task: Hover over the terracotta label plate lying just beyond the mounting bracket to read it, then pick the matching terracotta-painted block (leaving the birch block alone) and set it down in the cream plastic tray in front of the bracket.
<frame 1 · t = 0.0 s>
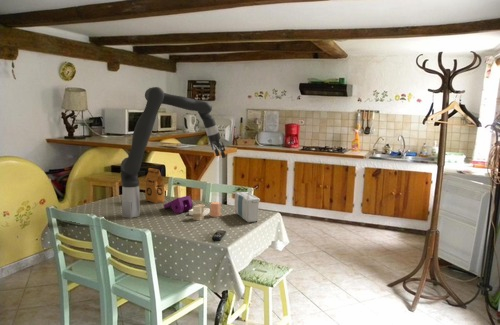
hand: (221, 156, 247), 31 cm above the table, tool tilted 20°, fingers open, 8 cm apart
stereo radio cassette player: (246, 218, 223), on the table
label plate: (200, 206, 247), on the table
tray: (199, 213, 229), on the table
mounting bracket: (176, 210, 237), on the table
coffee package: (155, 201, 258), on the table
terracotta block: (215, 215, 226), on the table
birch block: (198, 219, 219), on the table
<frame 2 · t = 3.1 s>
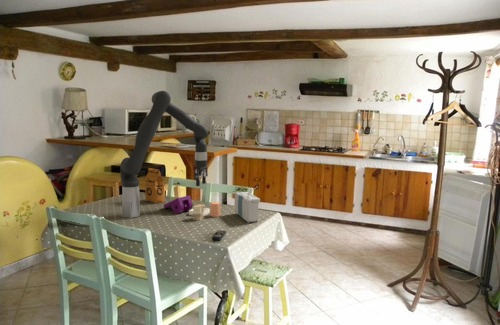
hand: (201, 184, 244), 14 cm above the table, tool pointing down, fingers open, 8 cm apart
nothing on the table moved.
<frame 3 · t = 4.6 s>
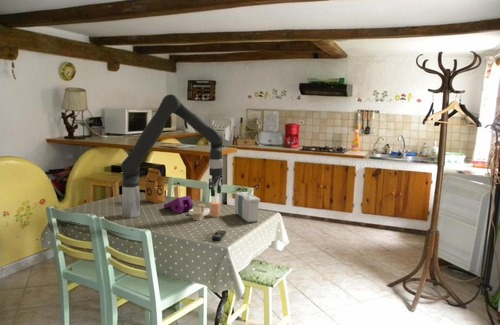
hand: (216, 194, 225), 12 cm above the table, tool pointing down, fingers open, 8 cm apart
nothing on the table moved.
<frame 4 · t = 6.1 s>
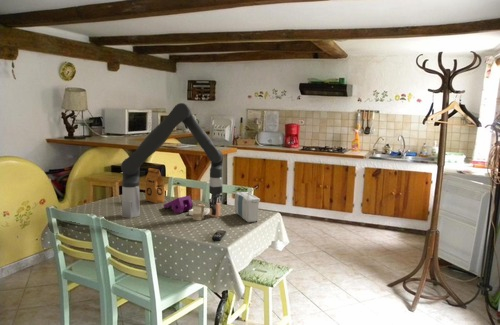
hand: (215, 213, 226), 1 cm above the table, tool pointing down, fingers closed on terracotta block, 4 cm apart
terracotta block: (215, 215, 226), on the table, touching gripper
everything else where it was.
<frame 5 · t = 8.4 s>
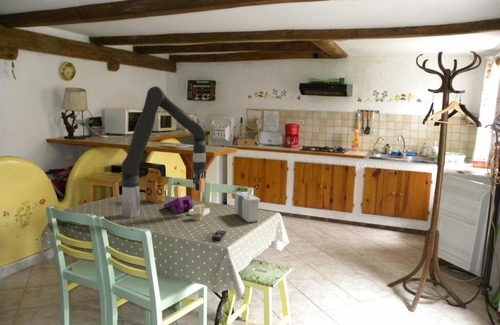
hand: (199, 189, 228), 15 cm above the table, tool pointing down, fingers closed on terracotta block, 4 cm apart
terracotta block: (199, 191, 228), point 13 cm above the table, touching gripper
everything else where it was.
when the fingers open (3 cm above the table, at t = 10.7 s): terracotta block drops 1 cm, resting on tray.
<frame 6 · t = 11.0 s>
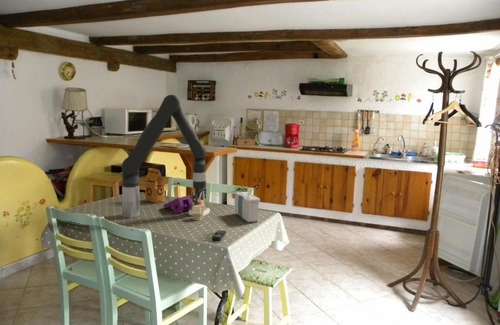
hand: (199, 207, 229), 4 cm above the table, tool pointing down, fingers open, 6 cm apart
terracotta block: (199, 212, 229), point 1 cm above the table, touching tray
everything else where it was.
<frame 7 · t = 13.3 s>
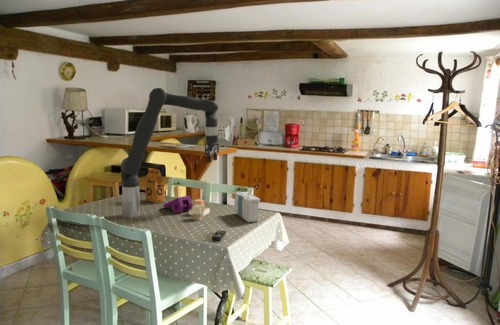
hand: (212, 161, 236), 30 cm above the table, tool pointing down, fingers open, 8 cm apart
nothing on the table moved.
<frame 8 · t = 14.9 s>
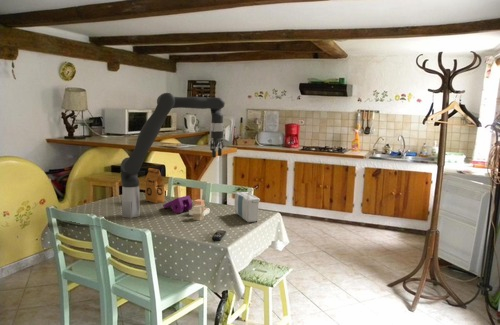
hand: (216, 156, 242), 32 cm above the table, tool pointing down, fingers open, 8 cm apart
nothing on the table moved.
at the end: terracotta block inside the target area on the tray (0.1 cm from its centre), point 0.6 cm above the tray's base; terracotta block tilted 0°; birch block moved 0.1 cm from its start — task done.
